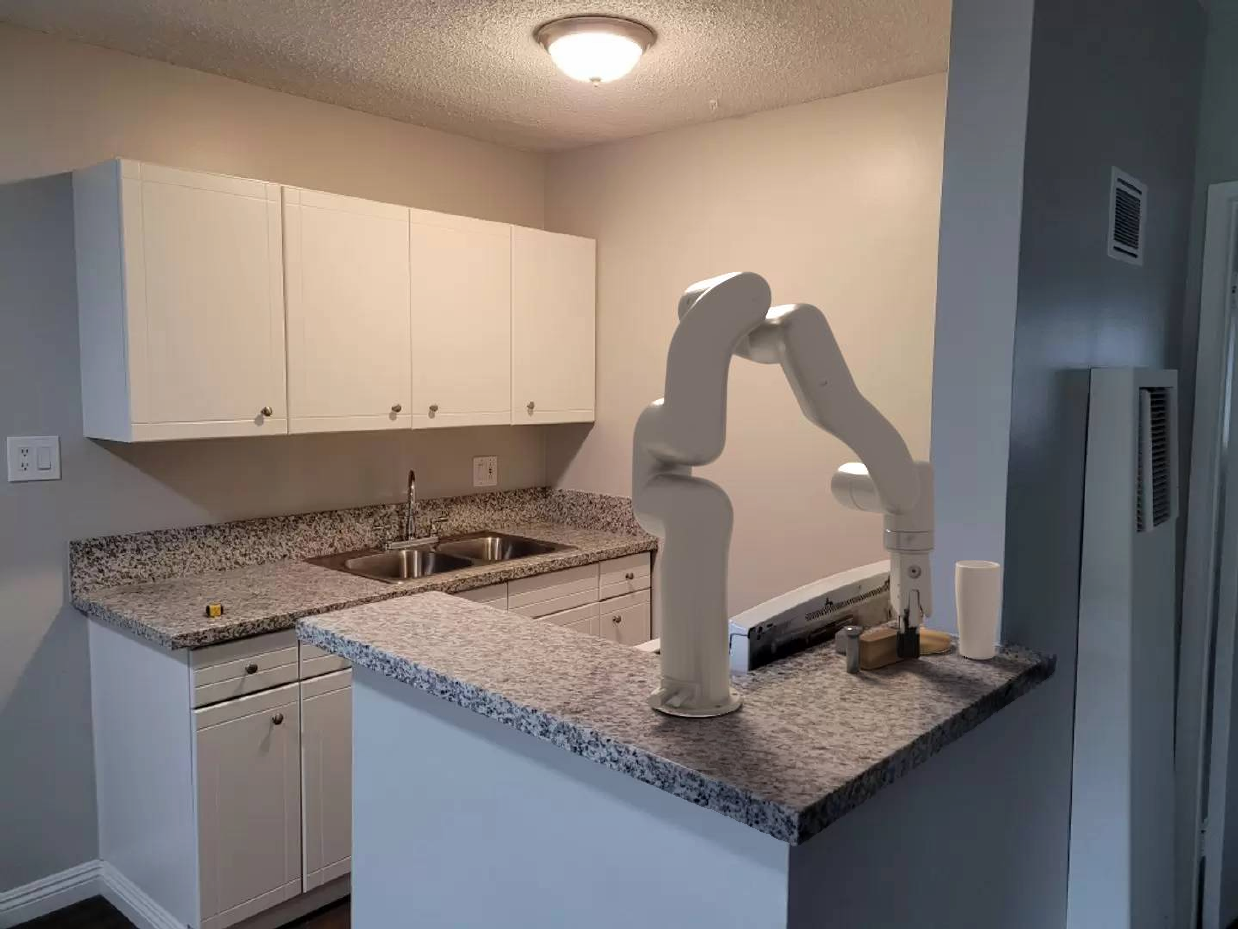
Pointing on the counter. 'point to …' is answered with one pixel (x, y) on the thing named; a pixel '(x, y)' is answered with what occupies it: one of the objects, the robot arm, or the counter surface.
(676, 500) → the robot arm
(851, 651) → the pivot pin
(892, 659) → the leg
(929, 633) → the wooden coaster
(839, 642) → the stop block
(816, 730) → the counter surface
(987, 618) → the drinking glass
